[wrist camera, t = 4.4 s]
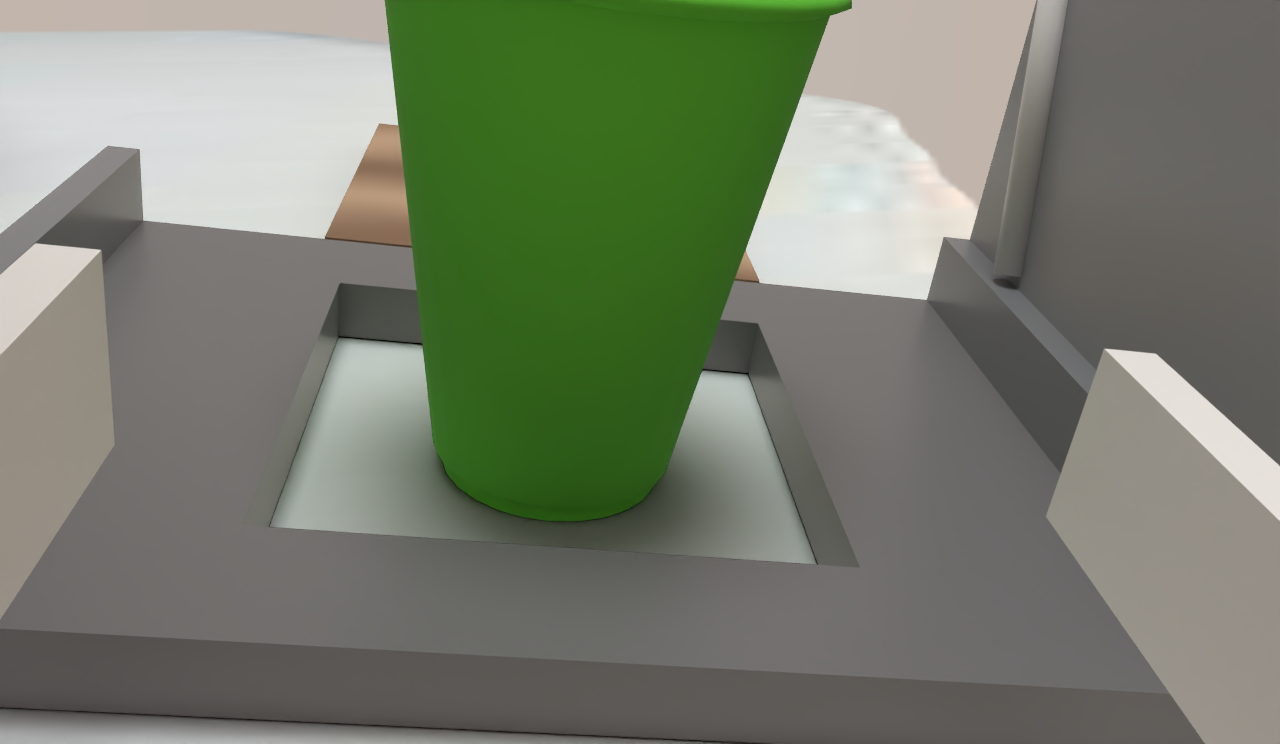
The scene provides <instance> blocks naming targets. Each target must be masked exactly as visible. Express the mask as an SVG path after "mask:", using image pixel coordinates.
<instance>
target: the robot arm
mask: <svg viewBox="0 0 1280 744" xmlns="http://www.w3.org/2000/svg"><path fill="white" fill-rule="evenodd" d="M114 445H115V441H114V426H113V412H112V397H111V382H110V368H109V353H108V338H107V324H106V309H105V295H104V280H103V265H102V251H101V250H98V249H87V248H77V247H67V246H57V245H47V244H37V243H35V244H34V245H33V246H32V247H31V248H30V249H29V250H27V251H26V252H25V253H24V254H23V255H22V256H21V257H20V258H18V259H17V260H16V261H15V262H14V263H13V264H12V265H11V266H9V267H8V268H7V269H6V270H5V271H4V272H3V273H2V274H0V619H1V618H2V616H3V615H4V613H5V612H6V610H7V609H8V607H9V606H10V604H11V602H12V601H13V599H14V598H15V596H16V595H17V593H18V592H19V590H20V589H21V587H22V586H23V584H24V583H25V581H26V579H27V578H28V576H29V575H30V573H31V572H32V570H33V569H34V567H35V566H36V564H37V563H38V561H39V560H40V558H41V557H42V555H43V553H44V552H45V550H46V549H47V547H48V546H49V544H50V543H51V541H52V540H53V538H54V537H55V535H56V534H57V532H58V531H59V529H60V527H61V526H62V524H63V523H64V521H65V520H66V518H67V517H68V515H69V514H70V512H71V511H72V509H73V508H74V506H75V504H76V503H77V501H78V500H79V498H80V497H81V495H82V494H83V492H84V491H85V489H86V488H87V486H88V485H89V483H90V482H91V480H92V478H93V477H94V475H95V474H96V472H97V471H98V469H99V468H100V466H101V465H102V463H103V462H104V460H105V459H106V457H107V455H108V454H109V452H110V451H111V449H112V448H113V446H114ZM1046 518H1047V519H1048V520H1049V522H1050V523H1051V525H1052V526H1053V528H1054V529H1055V530H1056V532H1057V533H1058V535H1059V536H1060V538H1061V539H1062V540H1063V542H1064V543H1065V545H1066V546H1067V548H1068V549H1069V550H1070V552H1071V553H1072V555H1073V556H1074V558H1075V559H1076V560H1077V562H1078V563H1079V565H1080V566H1081V568H1082V569H1083V570H1084V572H1085V573H1086V575H1087V576H1088V577H1089V579H1090V580H1091V582H1092V583H1093V585H1094V586H1095V587H1096V589H1097V590H1098V592H1099V593H1100V595H1101V596H1102V597H1103V599H1104V600H1105V602H1106V603H1107V605H1108V606H1109V607H1110V609H1111V610H1112V612H1113V613H1114V615H1115V616H1116V617H1117V619H1118V620H1119V622H1120V623H1121V625H1122V626H1123V627H1124V629H1125V630H1126V632H1127V633H1128V635H1129V636H1130V637H1131V639H1132V640H1133V642H1134V643H1135V645H1136V646H1137V647H1138V649H1139V650H1140V652H1141V653H1142V655H1143V656H1144V657H1145V659H1146V660H1147V662H1148V663H1149V665H1150V666H1151V667H1152V669H1153V670H1154V672H1155V673H1156V675H1157V676H1158V677H1159V679H1160V680H1161V682H1162V683H1163V685H1164V686H1165V687H1166V689H1167V690H1168V692H1169V693H1170V695H1171V696H1172V697H1173V699H1174V700H1175V702H1176V703H1177V705H1178V706H1179V707H1180V709H1181V710H1182V712H1183V713H1184V714H1185V716H1186V717H1187V719H1188V720H1189V722H1190V723H1191V724H1192V726H1193V727H1194V729H1195V730H1196V732H1197V733H1198V734H1199V736H1200V737H1201V739H1202V740H1203V742H1204V743H1205V744H1280V466H1279V465H1278V464H1277V463H1276V462H1275V461H1274V460H1273V459H1271V458H1270V457H1269V456H1268V455H1267V454H1266V453H1265V452H1264V451H1263V450H1262V449H1260V448H1259V447H1258V446H1257V445H1256V444H1255V443H1254V442H1253V441H1252V440H1251V439H1249V438H1248V437H1247V436H1246V435H1245V434H1244V433H1243V432H1242V431H1241V430H1240V429H1238V428H1237V427H1236V426H1235V425H1234V424H1233V423H1232V422H1231V421H1230V420H1229V419H1227V418H1226V417H1225V416H1224V415H1223V414H1222V413H1221V412H1220V411H1219V410H1217V409H1216V408H1215V407H1214V406H1213V405H1212V404H1211V403H1210V402H1209V401H1208V400H1206V399H1205V398H1204V397H1203V396H1202V395H1201V394H1200V393H1199V392H1198V391H1197V390H1195V389H1194V388H1193V387H1192V386H1191V385H1190V384H1189V383H1188V382H1187V381H1186V380H1184V379H1183V378H1182V377H1181V376H1180V375H1179V374H1178V373H1177V372H1176V371H1175V370H1173V369H1172V368H1171V367H1170V366H1169V365H1168V364H1167V363H1166V362H1165V361H1164V360H1162V359H1161V358H1160V357H1159V356H1158V355H1157V354H1155V353H1144V352H1134V351H1124V350H1114V349H1104V350H1103V353H1102V356H1101V359H1100V362H1099V365H1098V368H1097V370H1096V373H1095V376H1094V379H1093V382H1092V385H1091V388H1090V391H1089V394H1088V396H1087V399H1086V402H1085V405H1084V408H1083V411H1082V414H1081V417H1080V420H1079V422H1078V425H1077V428H1076V431H1075V434H1074V437H1073V440H1072V443H1071V445H1070V448H1069V451H1068V454H1067V457H1066V460H1065V463H1064V466H1063V469H1062V471H1061V474H1060V477H1059V480H1058V483H1057V486H1056V489H1055V492H1054V494H1053V497H1052V500H1051V503H1050V506H1049V509H1048V512H1047V515H1046Z"/></svg>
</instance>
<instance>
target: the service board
mask: <svg viewBox="0 0 1280 744" xmlns="http://www.w3.org/2000/svg"><path fill="white" fill-rule="evenodd" d="M325 239H328V240H338V241H348V242H358V243H368V244H378V245H387V246H397V247H407V248H412V244H411V234H410V225H409V216H408V207H407V198H406V189H405V180H404V170H403V161H402V152H401V143H400V134H399V126H397V125H388V124H379V125H378V127H377V129H376V131H375V133H374V136H373V138H372V140H371V142H370V144H369V146H368V148H367V150H366V152H365V154H364V156H363V159H362V161H361V163H360V165H359V167H358V169H357V171H356V173H355V175H354V177H353V179H352V182H351V184H350V186H349V188H348V190H347V192H346V194H345V196H344V198H343V200H342V203H341V205H340V207H339V209H338V211H337V213H336V215H335V217H334V219H333V221H332V223H331V226H330V228H329V230H328V232H327V234H326V236H325ZM734 281H743V282H753V283H759V279H758V277H757V275H756V273H755V270H754V268H753V266H752V264H751V262H750V259H749V257H748V255H747V253H746V251H745V252H744V255H743V258H742V261H741V264H740V266H739V269H738V272H737V275H736V277H735V280H734Z"/></svg>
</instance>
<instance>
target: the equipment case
mask: <svg viewBox="0 0 1280 744" xmlns="http://www.w3.org/2000/svg"><path fill="white" fill-rule="evenodd" d="M35 243H37V244H47V245H57V246H67V247H77V248H87V249H98V250H101V251H102V265H103V280H104V295H105V309H106V324H107V338H108V353H109V368H110V382H111V397H112V412H113V426H114V441H115V445H114V446H113V448H112V449H111V451H110V452H109V454H108V455H107V457H106V459H105V460H104V462H103V463H102V465H101V466H100V468H99V469H98V471H97V472H96V474H95V475H94V477H93V478H92V480H91V482H90V483H89V485H88V486H87V488H86V489H85V491H84V492H83V494H82V495H81V497H80V498H79V500H78V501H77V503H76V504H75V506H74V508H73V509H72V511H71V512H70V514H69V515H68V517H67V518H66V520H65V521H64V523H63V524H62V526H61V527H60V529H59V531H58V532H57V534H56V535H55V537H54V538H53V540H52V541H51V543H50V544H49V546H48V547H47V549H46V550H45V552H44V553H43V555H42V557H41V558H40V560H39V561H38V563H37V564H36V566H35V567H34V569H33V570H32V572H31V573H30V575H29V576H28V578H27V579H26V581H25V583H24V584H23V586H22V587H21V589H20V590H19V592H18V593H17V595H16V596H15V598H14V599H13V601H12V602H11V604H10V606H9V607H8V609H7V610H6V612H5V613H4V615H3V616H2V618H1V619H0V707H7V708H29V709H50V710H71V711H92V712H113V713H134V714H156V715H177V716H198V717H219V718H240V719H261V720H283V721H304V722H325V723H346V724H367V725H388V726H410V727H431V728H452V729H473V730H494V731H515V732H537V733H558V734H579V735H600V736H621V737H642V738H664V739H685V740H706V741H727V742H748V743H769V744H1205V743H1204V742H1203V740H1202V739H1201V737H1200V736H1199V734H1198V733H1197V732H1196V730H1195V729H1194V727H1193V726H1192V724H1191V723H1190V722H1189V720H1188V719H1187V717H1186V716H1185V714H1184V713H1183V712H1182V710H1181V709H1180V707H1179V706H1178V705H1177V703H1176V702H1175V700H1174V699H1173V697H1172V696H1171V695H1170V693H1169V692H1168V690H1167V689H1166V687H1165V686H1164V685H1163V683H1162V682H1161V680H1160V679H1159V677H1158V676H1157V675H1156V673H1155V672H1154V670H1153V669H1152V667H1151V666H1150V665H1149V663H1148V662H1147V660H1146V659H1145V657H1144V656H1143V655H1142V653H1141V652H1140V650H1139V649H1138V647H1137V646H1136V645H1135V643H1134V642H1133V640H1132V639H1131V637H1130V636H1129V635H1128V633H1127V632H1126V630H1125V629H1124V627H1123V626H1122V625H1121V623H1120V622H1119V620H1118V619H1117V617H1116V616H1115V615H1114V613H1113V612H1112V610H1111V609H1110V607H1109V606H1108V605H1107V603H1106V602H1105V600H1104V599H1103V597H1102V596H1101V595H1100V593H1099V592H1098V590H1097V589H1096V587H1095V586H1094V585H1093V583H1092V582H1091V580H1090V579H1089V577H1088V576H1087V575H1086V573H1085V572H1084V570H1083V569H1082V568H1081V566H1080V565H1079V563H1078V562H1077V560H1076V559H1075V558H1074V556H1073V555H1072V553H1071V552H1070V550H1069V549H1068V548H1067V546H1066V545H1065V543H1064V542H1063V540H1062V539H1061V538H1060V536H1059V535H1058V533H1057V532H1056V530H1055V529H1054V528H1053V526H1052V525H1051V523H1050V522H1049V520H1048V519H1047V518H1046V515H1047V512H1048V509H1049V506H1050V503H1051V500H1052V497H1053V494H1054V492H1055V489H1056V486H1057V483H1058V480H1059V477H1060V474H1061V471H1062V469H1063V466H1064V463H1065V460H1066V457H1067V454H1068V451H1069V448H1070V445H1071V443H1072V440H1073V437H1074V434H1075V431H1076V428H1077V425H1078V422H1079V420H1080V417H1081V414H1082V411H1083V408H1084V405H1085V402H1086V399H1087V396H1088V394H1089V391H1090V388H1091V385H1092V382H1093V379H1094V376H1095V373H1096V370H1097V368H1098V365H1099V362H1100V359H1101V356H1102V353H1103V350H1104V349H1114V350H1124V351H1134V352H1144V353H1155V354H1157V355H1158V356H1159V357H1160V358H1161V359H1162V360H1164V361H1165V362H1166V363H1167V364H1168V365H1169V366H1170V367H1171V368H1172V369H1173V370H1175V371H1176V372H1177V373H1178V374H1179V375H1180V376H1181V377H1182V378H1183V379H1184V380H1186V381H1187V382H1188V383H1189V384H1190V385H1191V386H1192V387H1193V388H1194V389H1195V390H1197V391H1198V392H1199V393H1200V394H1201V395H1202V396H1203V397H1204V398H1205V399H1206V400H1208V401H1209V402H1210V403H1211V404H1212V405H1213V406H1214V407H1215V408H1216V409H1217V410H1219V411H1220V412H1221V413H1222V414H1223V415H1224V416H1225V417H1226V418H1227V419H1229V420H1230V421H1231V422H1232V423H1233V424H1234V425H1235V426H1236V427H1237V428H1238V429H1240V430H1241V431H1242V432H1243V433H1244V434H1245V435H1246V436H1247V437H1248V438H1249V439H1251V440H1252V441H1253V442H1254V443H1255V444H1256V445H1257V446H1258V447H1259V448H1260V449H1262V450H1263V451H1264V452H1265V453H1266V454H1267V455H1268V456H1269V457H1270V458H1271V459H1273V460H1274V461H1275V462H1276V463H1277V464H1278V465H1279V466H1280V0H1037V1H1036V4H1035V8H1034V12H1033V15H1032V19H1031V22H1030V26H1029V30H1028V34H1027V37H1026V41H1025V44H1024V48H1023V51H1022V55H1021V58H1020V62H1019V66H1018V69H1017V73H1016V76H1015V80H1014V84H1013V87H1012V91H1011V94H1010V98H1009V102H1008V105H1007V109H1006V112H1005V116H1004V119H1003V123H1002V127H1001V130H1000V134H999V138H998V141H997V145H996V148H995V152H994V156H993V159H992V163H991V166H990V171H989V173H988V177H987V181H986V184H985V188H984V191H983V195H982V199H981V202H980V206H979V209H978V213H977V217H976V220H975V224H974V227H973V231H972V234H971V238H970V240H966V239H957V238H948V237H944V238H943V242H942V246H941V250H940V253H939V257H938V261H937V265H936V268H935V272H934V276H933V280H932V283H931V287H930V291H929V295H928V298H927V300H921V299H911V298H901V297H891V296H881V295H871V294H861V293H851V292H842V291H832V290H822V289H812V288H802V287H792V286H782V285H772V284H763V283H753V282H743V281H734V283H733V286H732V288H731V291H730V294H729V297H728V300H727V302H726V305H725V308H724V311H723V313H722V316H721V319H720V322H719V324H718V327H717V330H716V333H715V336H714V338H713V341H712V344H711V347H710V349H709V352H708V355H707V358H706V361H705V363H704V366H703V369H710V370H721V371H732V372H743V373H748V374H749V377H750V379H751V382H752V385H753V388H754V390H755V393H756V396H757V399H758V401H759V404H760V407H761V410H762V412H763V415H764V418H765V420H766V423H767V426H768V429H769V431H770V434H771V437H772V440H773V442H774V445H775V448H776V451H777V453H778V456H779V459H780V462H781V464H782V467H783V470H784V473H785V475H786V478H787V481H788V484H789V486H790V489H791V492H792V495H793V497H794V500H795V503H796V505H797V508H798V511H799V514H800V516H801V519H802V522H803V525H804V527H805V530H806V533H807V536H808V538H809V541H810V544H811V547H812V549H813V552H814V555H815V558H816V560H817V563H818V565H815V564H800V563H786V562H771V561H756V560H742V559H727V558H713V557H698V556H684V555H669V554H654V553H640V552H625V551H611V550H596V549H582V548H567V547H553V546H538V545H523V544H509V543H494V542H480V541H465V540H451V539H436V538H422V537H407V536H392V535H378V534H363V533H349V532H334V531H320V530H305V529H290V528H276V527H269V524H270V521H271V519H272V516H273V513H274V511H275V508H276V505H277V502H278V500H279V497H280V494H281V491H282V489H283V486H284V483H285V481H286V478H287V475H288V472H289V470H290V467H291V464H292V461H293V459H294V456H295V453H296V450H297V448H298V445H299V442H300V440H301V437H302V434H303V431H304V429H305V426H306V423H307V420H308V418H309V415H310V412H311V410H312V407H313V404H314V401H315V399H316V396H317V393H318V390H319V388H320V385H321V382H322V379H323V377H324V374H325V371H326V369H327V366H328V363H329V360H330V358H331V355H332V352H333V349H334V347H335V344H336V341H337V338H338V336H346V337H357V338H368V339H379V340H390V341H401V342H412V343H422V335H421V326H420V317H419V308H418V298H417V289H416V280H415V271H414V262H413V253H412V248H407V247H397V246H387V245H378V244H368V243H358V242H348V241H338V240H328V239H318V238H309V237H299V236H289V235H279V234H269V233H259V232H249V231H239V230H230V229H220V228H210V227H200V226H190V225H180V224H170V223H160V222H151V221H143V208H142V189H141V169H140V149H132V148H123V147H114V146H107V147H106V148H105V149H103V150H102V151H101V152H100V153H99V154H97V155H96V156H95V157H94V158H92V159H91V160H90V161H89V162H88V163H86V164H85V165H84V166H83V167H82V168H80V169H79V170H78V171H77V172H75V173H74V174H73V175H72V176H71V177H69V178H68V179H67V180H66V181H64V182H63V183H62V184H61V185H60V186H58V187H57V188H56V189H55V190H54V191H52V192H51V193H50V194H49V195H47V196H46V197H45V198H44V199H43V200H41V201H40V202H39V203H38V204H36V205H35V206H34V207H33V208H32V209H30V210H29V211H28V212H27V213H25V214H24V215H23V216H22V217H21V218H19V219H18V220H17V221H16V222H15V223H13V224H12V225H11V226H10V227H8V228H7V229H6V230H5V231H4V232H2V233H1V234H0V274H2V273H3V272H4V271H5V270H6V269H7V268H8V267H9V266H11V265H12V264H13V263H14V262H15V261H16V260H17V259H18V258H20V257H21V256H22V255H23V254H24V253H25V252H26V251H27V250H29V249H30V248H31V247H32V246H33V245H34V244H35Z"/></svg>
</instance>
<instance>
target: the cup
mask: <svg viewBox="0 0 1280 744" xmlns="http://www.w3.org/2000/svg"><path fill="white" fill-rule="evenodd" d="M385 6H386V15H387V24H388V33H389V42H390V51H391V61H392V70H393V79H394V88H395V97H396V106H397V115H398V125H399V134H400V143H401V152H402V161H403V170H404V180H405V189H406V198H407V207H408V216H409V225H410V234H411V244H412V253H413V262H414V271H415V280H416V289H417V298H418V308H419V317H420V326H421V335H422V344H423V353H424V362H425V372H426V381H427V390H428V399H429V408H430V417H431V426H432V436H433V442H434V445H435V448H436V451H437V454H438V456H439V457H440V458H441V460H442V462H443V465H444V468H445V471H446V473H447V475H448V476H449V477H450V478H451V480H452V481H453V482H454V483H455V485H456V486H457V487H458V488H460V489H461V490H462V491H464V492H465V493H466V494H468V495H469V496H471V497H472V498H473V499H475V500H477V501H479V502H481V503H483V504H486V505H488V506H490V507H492V508H494V509H496V510H500V511H503V512H507V513H510V514H514V515H517V516H520V517H525V518H532V519H539V520H546V521H584V520H591V519H599V518H605V517H608V516H611V515H614V514H617V513H620V512H623V511H626V510H628V509H629V508H631V507H633V506H634V505H636V504H638V503H639V502H641V501H642V500H643V499H644V498H645V497H646V496H647V495H648V493H649V492H650V491H651V490H652V488H653V486H654V485H655V484H656V483H657V482H658V480H659V479H660V478H661V477H662V476H663V475H664V474H665V471H666V469H667V466H668V463H669V460H670V458H671V455H672V452H673V449H674V446H675V444H676V441H677V438H678V435H679V433H680V430H681V427H682V424H683V421H684V419H685V416H686V413H687V410H688V408H689V405H690V402H691V399H692V397H693V394H694V391H695V388H696V385H697V383H698V380H699V377H700V374H701V372H702V369H703V366H704V363H705V361H706V358H707V355H708V352H709V349H710V347H711V344H712V341H713V338H714V336H715V333H716V330H717V327H718V324H719V322H720V319H721V316H722V313H723V311H724V308H725V305H726V302H727V300H728V297H729V294H730V291H731V288H732V286H733V283H734V280H735V277H736V275H737V272H738V269H739V266H740V264H741V261H742V258H743V255H744V252H745V250H746V247H747V244H748V241H749V239H750V236H751V233H752V230H753V227H754V225H755V222H756V219H757V216H758V214H759V211H760V208H761V205H762V203H763V200H764V197H765V194H766V191H767V189H768V186H769V183H770V180H771V178H772V175H773V172H774V169H775V167H776V164H777V161H778V158H779V155H780V153H781V150H782V147H783V144H784V142H785V139H786V136H787V133H788V130H789V128H790V125H791V122H792V119H793V117H794V114H795V111H796V108H797V106H798V103H799V100H800V97H801V94H802V92H803V89H804V86H805V83H806V80H807V78H808V75H809V72H810V69H811V67H812V64H813V61H814V58H815V56H816V53H817V50H818V47H819V44H820V42H821V39H822V36H823V34H824V31H825V28H826V25H827V22H828V19H829V17H830V15H833V14H837V13H840V12H842V11H846V10H848V9H851V8H852V1H851V0H385Z"/></svg>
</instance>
